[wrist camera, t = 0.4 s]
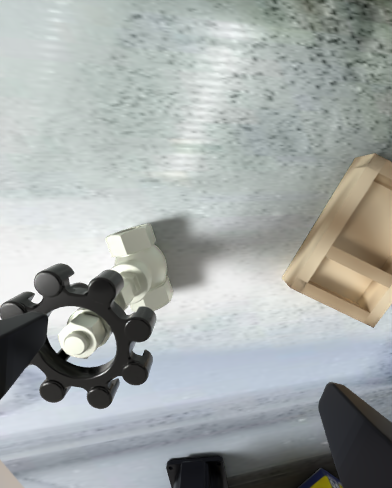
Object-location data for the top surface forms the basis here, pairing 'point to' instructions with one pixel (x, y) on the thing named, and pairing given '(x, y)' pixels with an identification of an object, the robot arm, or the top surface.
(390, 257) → the holder
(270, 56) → the top surface
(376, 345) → the top surface
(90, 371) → the valve
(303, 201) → the top surface
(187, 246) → the top surface
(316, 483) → the supplement box
